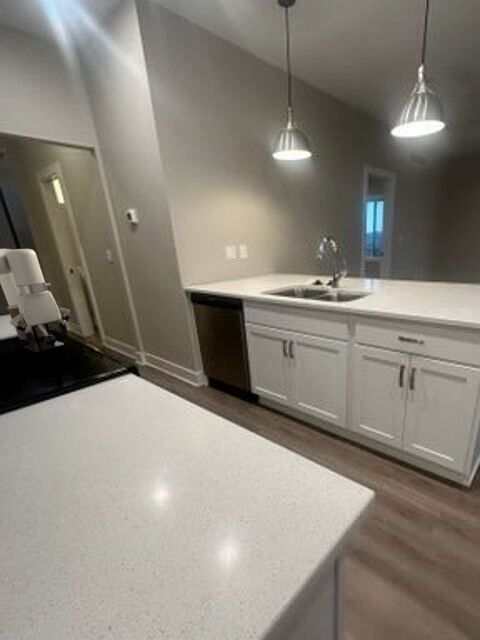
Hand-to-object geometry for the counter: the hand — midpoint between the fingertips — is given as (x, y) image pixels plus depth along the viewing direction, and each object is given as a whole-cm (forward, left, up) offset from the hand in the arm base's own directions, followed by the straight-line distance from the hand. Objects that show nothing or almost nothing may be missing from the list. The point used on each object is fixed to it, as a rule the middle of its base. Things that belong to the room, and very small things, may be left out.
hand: (49, 339), depth 118 cm
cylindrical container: (-15, +36, -5) cm, 39 cm away
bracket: (-4, +8, -5) cm, 10 cm away
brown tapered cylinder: (-11, +25, -5) cm, 28 cm away
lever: (-2, +5, +1) cm, 5 cm away
